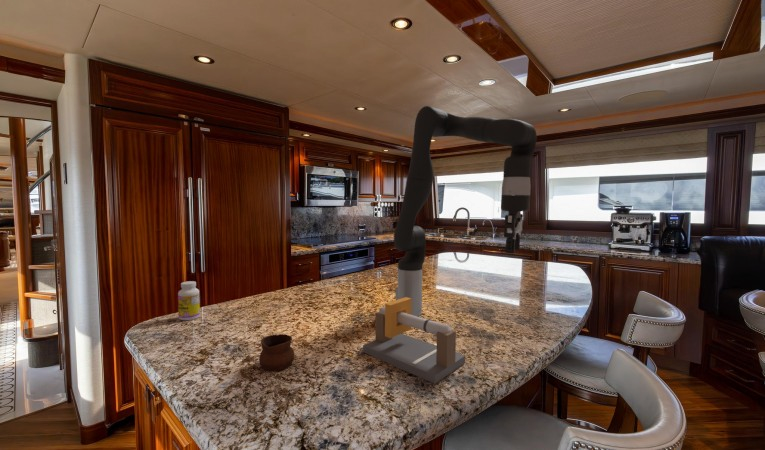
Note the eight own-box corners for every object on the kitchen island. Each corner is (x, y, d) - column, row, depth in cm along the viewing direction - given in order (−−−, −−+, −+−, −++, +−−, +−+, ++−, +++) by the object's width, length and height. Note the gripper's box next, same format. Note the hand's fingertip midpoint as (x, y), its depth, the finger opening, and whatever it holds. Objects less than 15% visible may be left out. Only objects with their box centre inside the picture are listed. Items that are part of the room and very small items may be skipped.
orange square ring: (384, 336, 91) (385, 303, 90) (405, 327, 97) (406, 297, 97) (390, 338, 89) (390, 305, 89) (411, 329, 96) (411, 298, 95)
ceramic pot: (240, 389, 74) (240, 358, 74) (238, 357, 90) (238, 331, 90) (320, 374, 82) (320, 346, 82) (304, 347, 98) (305, 323, 98)
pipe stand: (362, 352, 93) (363, 311, 92) (395, 337, 103) (395, 300, 103) (434, 384, 77) (435, 335, 76) (465, 363, 87) (466, 319, 86)
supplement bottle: (174, 319, 118) (173, 283, 117) (191, 313, 124) (190, 279, 123) (187, 322, 115) (186, 285, 115) (204, 316, 122) (203, 281, 121)
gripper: (506, 194, 102) (504, 246, 103) (496, 193, 90) (493, 252, 91) (533, 194, 98) (530, 249, 99) (526, 193, 86) (522, 255, 87)
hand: (512, 250), depth 95 cm, fingers open, 8 cm apart
